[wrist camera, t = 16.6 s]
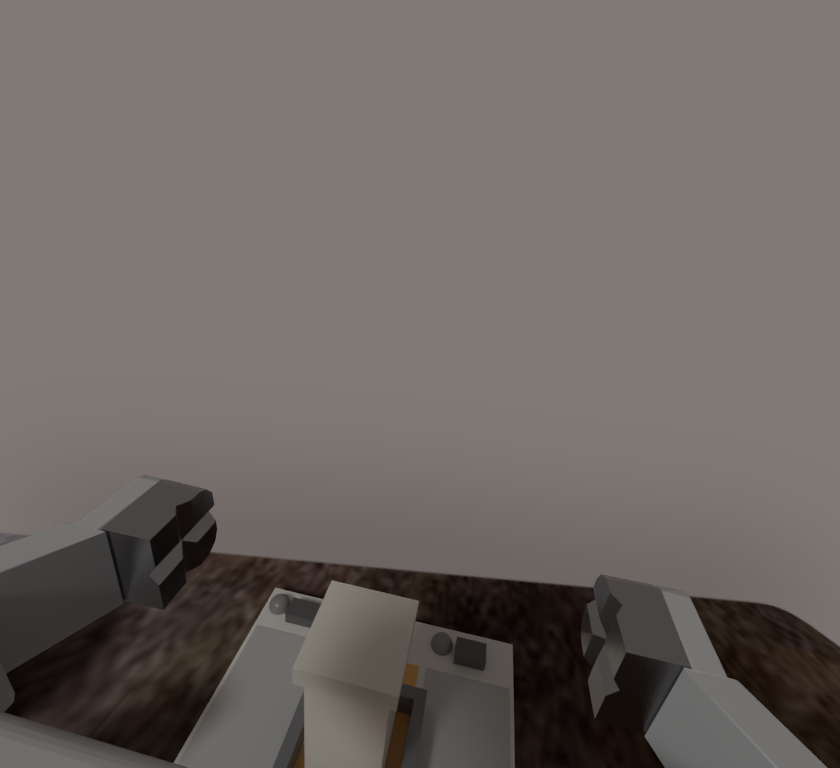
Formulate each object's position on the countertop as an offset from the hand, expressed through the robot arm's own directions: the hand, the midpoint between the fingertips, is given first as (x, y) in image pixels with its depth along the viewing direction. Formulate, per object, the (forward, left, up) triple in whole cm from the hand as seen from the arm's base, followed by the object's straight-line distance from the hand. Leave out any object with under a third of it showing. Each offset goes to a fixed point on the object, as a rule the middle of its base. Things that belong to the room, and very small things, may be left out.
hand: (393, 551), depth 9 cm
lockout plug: (+2, -8, -27) cm, 28 cm away
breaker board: (+3, -10, -28) cm, 30 cm away
